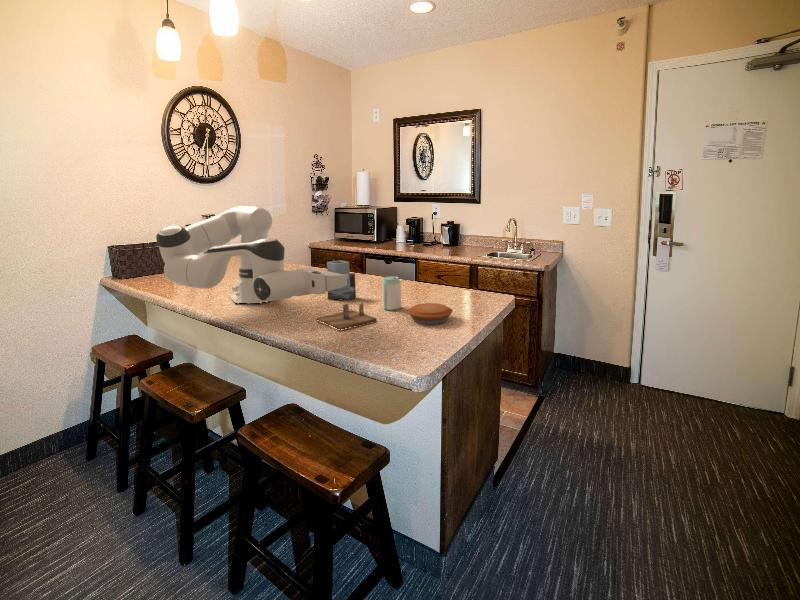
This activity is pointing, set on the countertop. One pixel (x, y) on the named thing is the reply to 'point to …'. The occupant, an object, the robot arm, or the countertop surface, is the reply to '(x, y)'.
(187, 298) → the countertop surface
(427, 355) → the countertop surface
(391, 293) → the can
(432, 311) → the pie
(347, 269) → the square pen holder
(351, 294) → the small box
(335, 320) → the post base
